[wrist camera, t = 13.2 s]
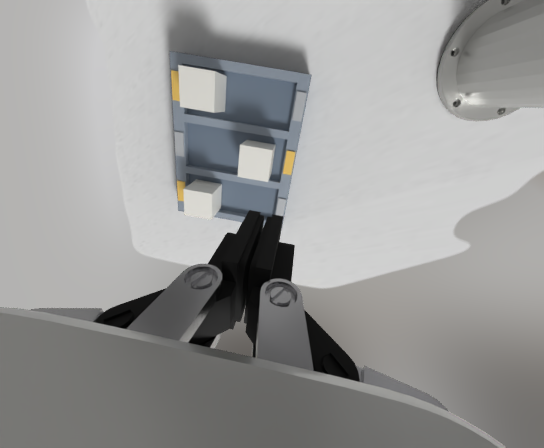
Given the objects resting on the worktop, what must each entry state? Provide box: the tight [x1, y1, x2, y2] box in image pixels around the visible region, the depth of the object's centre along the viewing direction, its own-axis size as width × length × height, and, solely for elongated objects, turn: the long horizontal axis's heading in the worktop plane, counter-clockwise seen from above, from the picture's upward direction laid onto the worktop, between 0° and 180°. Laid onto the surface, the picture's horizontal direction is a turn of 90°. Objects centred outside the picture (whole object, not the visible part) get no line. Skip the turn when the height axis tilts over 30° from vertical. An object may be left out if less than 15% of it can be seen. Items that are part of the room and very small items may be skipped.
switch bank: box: [170, 51, 311, 226], centre depth 33 cm, size 17×21×3 cm
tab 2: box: [183, 179, 222, 220], centre depth 34 cm, size 4×4×4 cm
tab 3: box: [237, 140, 276, 182], centre depth 30 cm, size 4×4×4 cm
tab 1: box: [178, 65, 227, 113], centre depth 27 cm, size 4×4×4 cm
